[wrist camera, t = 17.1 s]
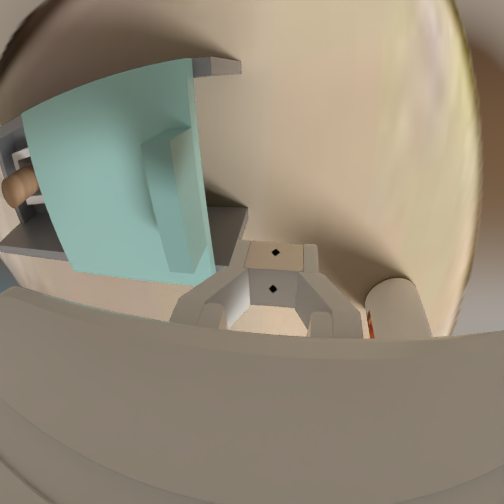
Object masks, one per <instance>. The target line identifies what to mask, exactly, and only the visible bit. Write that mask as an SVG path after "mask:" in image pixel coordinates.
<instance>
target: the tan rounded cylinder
mask: <svg viewBox="0 0 504 504" xmlns="http://www.w3.org/2000/svg"><path fill="white" fill-rule="evenodd" d="M39 189H40V188H39V184H38V181H37V178H36V175H35V171H34V168H33V164H32V161H31V162H29V163H28V164H26V165H25V166H23V167H22V168H20V169H18V170H17V171H15V172H14V173H13V174H11V175H10V176H8V177H7V178H5V179H4V180H3V181H2V193H3V196H4V198H5V200H6V202H7V203H8V204H9V205H10V206H11V207H12V208H17V207H18V206H19V205H20V204H21V203H23V202H24V201H25V200H26V199H28V198H29V197H30V196H31V195H33V194H34V193H35V192H37V191H38V190H39Z"/></svg>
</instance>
